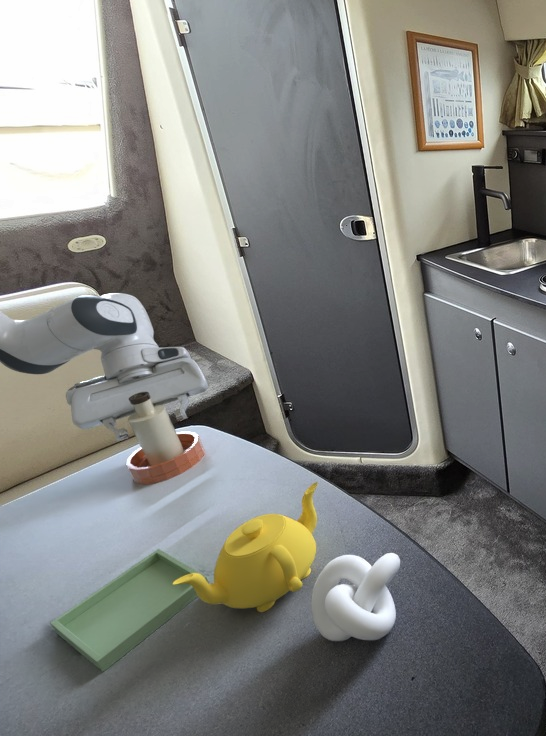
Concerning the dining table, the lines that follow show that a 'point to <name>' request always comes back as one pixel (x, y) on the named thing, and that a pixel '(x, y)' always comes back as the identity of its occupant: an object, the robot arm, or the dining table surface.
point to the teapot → (261, 560)
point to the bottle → (154, 430)
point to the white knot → (355, 598)
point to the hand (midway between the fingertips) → (153, 428)
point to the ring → (169, 468)
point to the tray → (126, 609)
